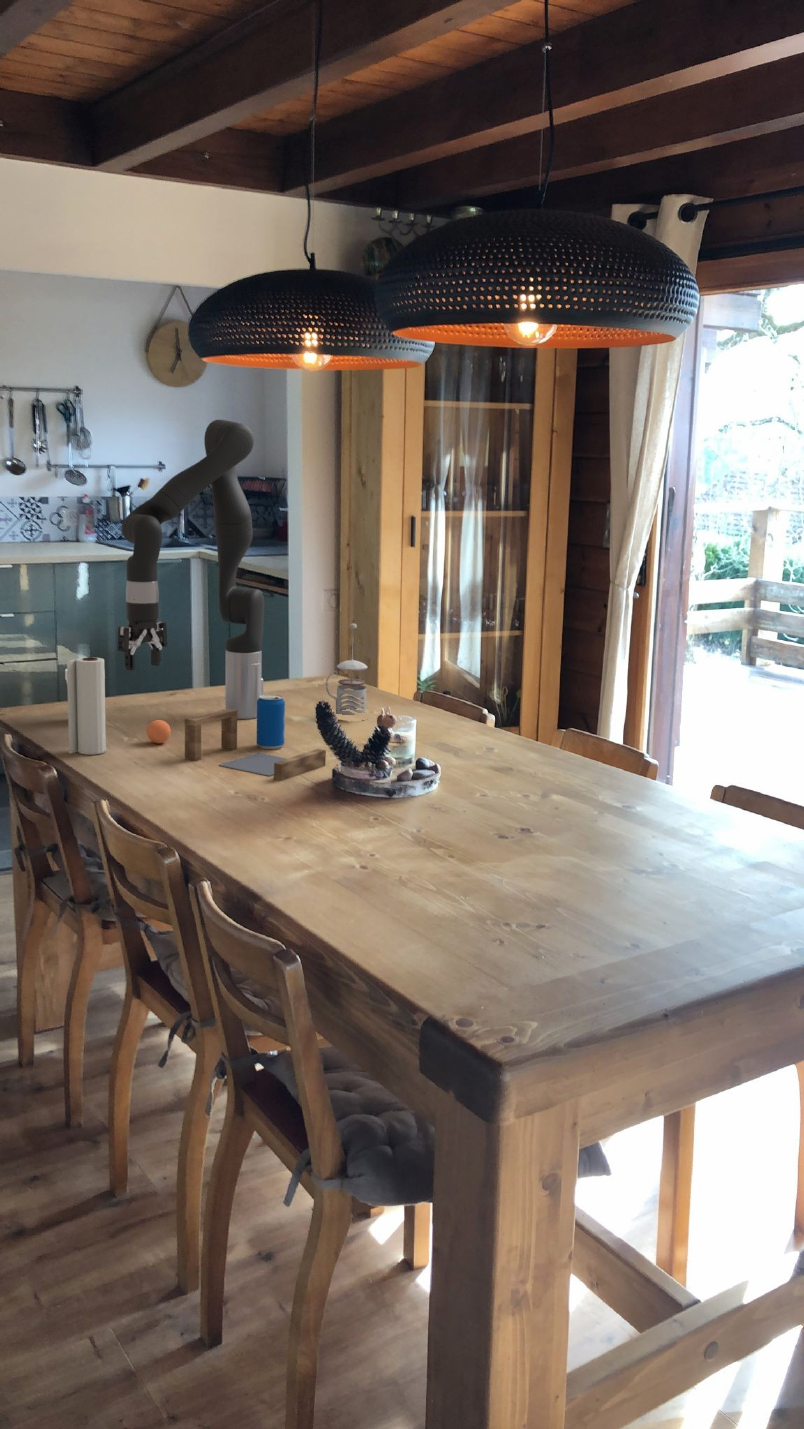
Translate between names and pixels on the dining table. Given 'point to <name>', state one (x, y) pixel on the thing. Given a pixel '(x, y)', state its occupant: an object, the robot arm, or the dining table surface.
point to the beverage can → (270, 721)
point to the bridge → (194, 723)
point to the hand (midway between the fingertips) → (143, 667)
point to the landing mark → (255, 764)
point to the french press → (352, 684)
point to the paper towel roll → (86, 705)
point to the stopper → (299, 764)
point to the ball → (158, 731)
